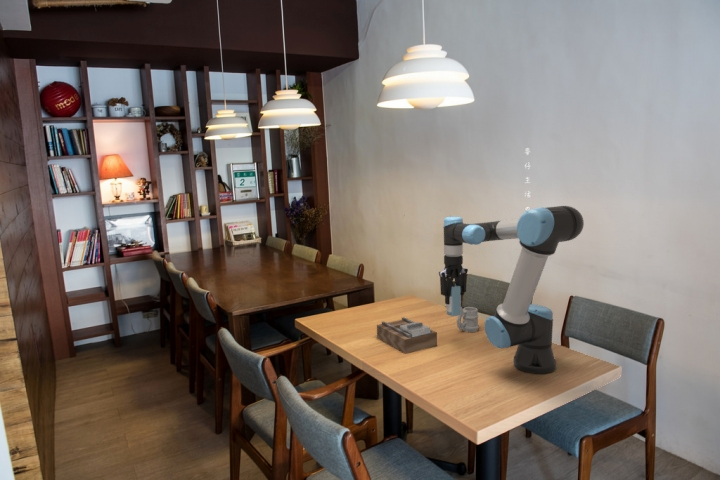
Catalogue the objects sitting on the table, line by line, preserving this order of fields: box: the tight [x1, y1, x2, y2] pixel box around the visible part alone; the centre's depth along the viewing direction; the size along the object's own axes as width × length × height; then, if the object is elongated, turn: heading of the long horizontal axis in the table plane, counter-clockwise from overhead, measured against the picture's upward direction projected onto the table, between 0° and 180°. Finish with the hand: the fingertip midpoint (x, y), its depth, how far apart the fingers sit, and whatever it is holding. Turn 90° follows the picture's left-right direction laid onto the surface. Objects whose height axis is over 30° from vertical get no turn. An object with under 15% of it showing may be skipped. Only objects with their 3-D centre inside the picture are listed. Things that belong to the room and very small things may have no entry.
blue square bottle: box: [446, 280, 462, 317], centre depth 216 cm, size 4×4×14 cm
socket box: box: [376, 316, 438, 355], centre depth 224 cm, size 22×16×7 cm
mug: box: [456, 306, 480, 333], centre depth 236 cm, size 8×12×12 cm, turn 124°
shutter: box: [400, 321, 431, 337], centre depth 218 cm, size 9×9×3 cm
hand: (453, 310), depth 216 cm, fingers closed on blue square bottle, 4 cm apart
